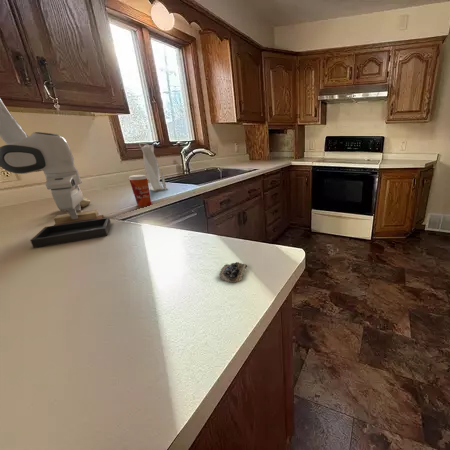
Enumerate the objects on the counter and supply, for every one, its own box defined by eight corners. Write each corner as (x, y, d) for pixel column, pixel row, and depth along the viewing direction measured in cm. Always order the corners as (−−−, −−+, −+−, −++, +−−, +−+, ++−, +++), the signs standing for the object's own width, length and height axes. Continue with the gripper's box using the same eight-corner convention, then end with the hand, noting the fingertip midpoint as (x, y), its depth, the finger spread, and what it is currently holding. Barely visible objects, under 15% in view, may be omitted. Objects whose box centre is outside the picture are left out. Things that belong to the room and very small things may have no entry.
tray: (33, 248, 72) (30, 240, 71) (47, 234, 83) (45, 226, 82) (107, 235, 81) (104, 228, 80) (111, 224, 92) (109, 217, 91)
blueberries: (246, 263, 61) (245, 256, 61) (251, 279, 54) (251, 272, 53) (218, 268, 59) (217, 261, 58) (220, 285, 52) (219, 278, 51)
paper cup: (140, 208, 112) (132, 177, 108) (132, 205, 116) (124, 176, 111) (157, 204, 119) (150, 175, 114) (148, 202, 122) (142, 174, 118)
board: (55, 223, 89) (53, 218, 88) (59, 220, 93) (57, 215, 92) (96, 217, 94) (95, 212, 94) (98, 214, 98) (97, 209, 98)
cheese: (74, 209, 120) (39, 195, 106) (84, 196, 122) (51, 182, 108) (94, 221, 116) (60, 209, 102) (104, 209, 118) (72, 195, 104)
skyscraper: (153, 192, 146) (142, 142, 136) (146, 190, 150) (135, 142, 141) (167, 189, 153) (157, 142, 143) (160, 188, 157) (150, 142, 147)
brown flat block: (50, 230, 86) (50, 228, 86) (58, 222, 95) (57, 221, 94) (100, 222, 93) (99, 221, 93) (103, 216, 101) (102, 214, 101)
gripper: (60, 177, 95) (72, 211, 100) (43, 185, 79) (59, 225, 83) (81, 175, 98) (92, 208, 103) (69, 183, 82) (82, 222, 87)
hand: (77, 216), depth 93 cm, fingers closed on board, 5 cm apart
